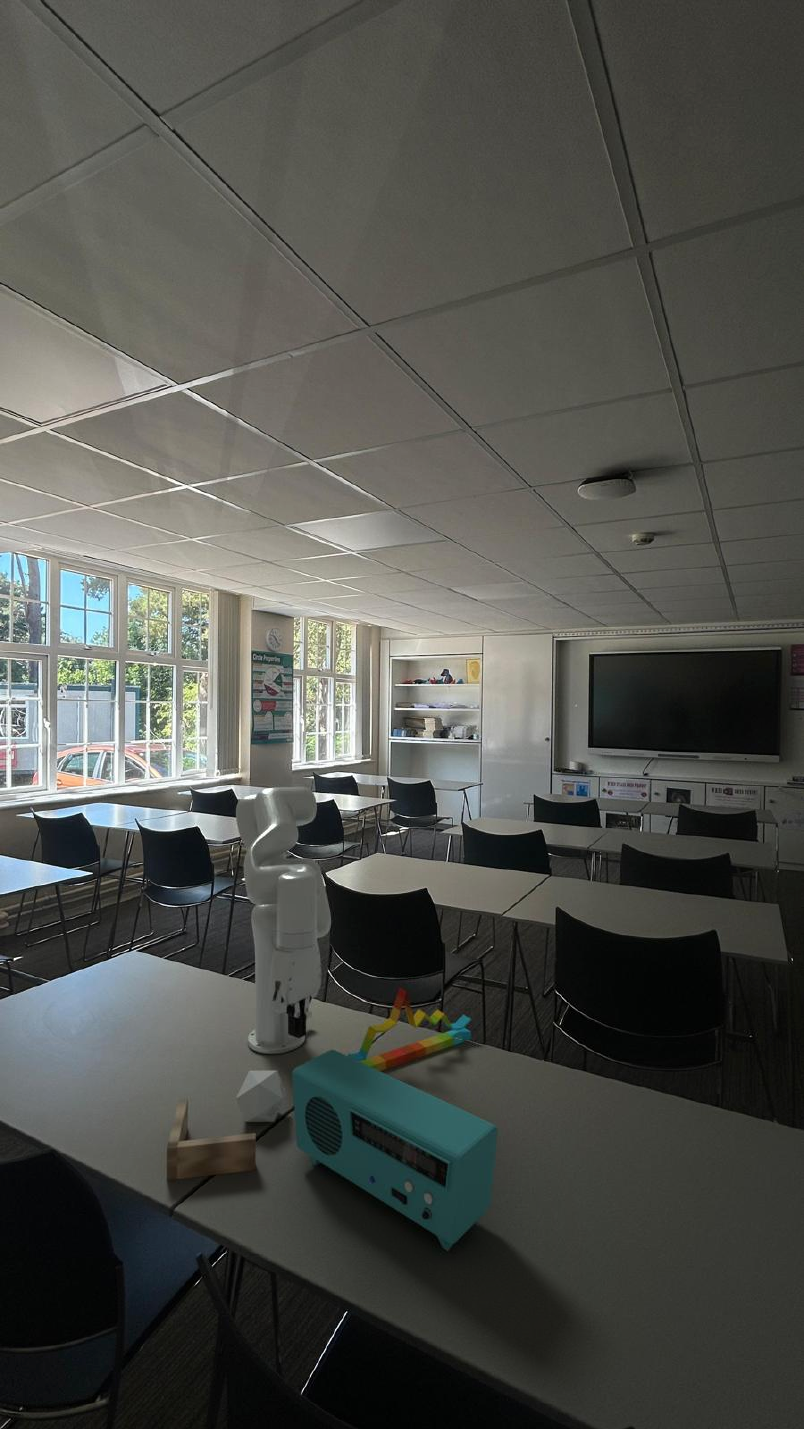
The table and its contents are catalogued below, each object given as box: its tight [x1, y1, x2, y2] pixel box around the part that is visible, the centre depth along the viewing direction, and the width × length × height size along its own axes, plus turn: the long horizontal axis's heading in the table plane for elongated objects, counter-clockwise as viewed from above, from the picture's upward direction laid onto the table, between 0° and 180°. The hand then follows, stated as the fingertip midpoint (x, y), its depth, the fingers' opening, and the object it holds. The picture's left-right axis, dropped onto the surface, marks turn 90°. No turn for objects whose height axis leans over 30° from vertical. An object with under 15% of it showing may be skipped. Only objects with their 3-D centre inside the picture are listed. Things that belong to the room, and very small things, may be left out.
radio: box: [291, 1049, 499, 1252], centre depth 102 cm, size 34×10×15 cm, turn 50°
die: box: [235, 1070, 287, 1123], centre depth 121 cm, size 8×9×10 cm
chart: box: [347, 987, 472, 1072], centre depth 144 cm, size 30×3×15 cm, turn 125°
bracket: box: [166, 1098, 257, 1181], centre depth 109 cm, size 11×19×5 cm, turn 56°
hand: (297, 1034), depth 128 cm, fingers closed
